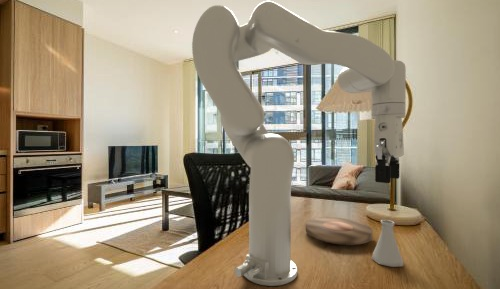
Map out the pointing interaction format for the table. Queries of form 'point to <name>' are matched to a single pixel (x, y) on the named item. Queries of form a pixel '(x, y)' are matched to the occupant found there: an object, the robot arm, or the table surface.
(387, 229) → the flask
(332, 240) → the turntable
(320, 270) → the table surface
